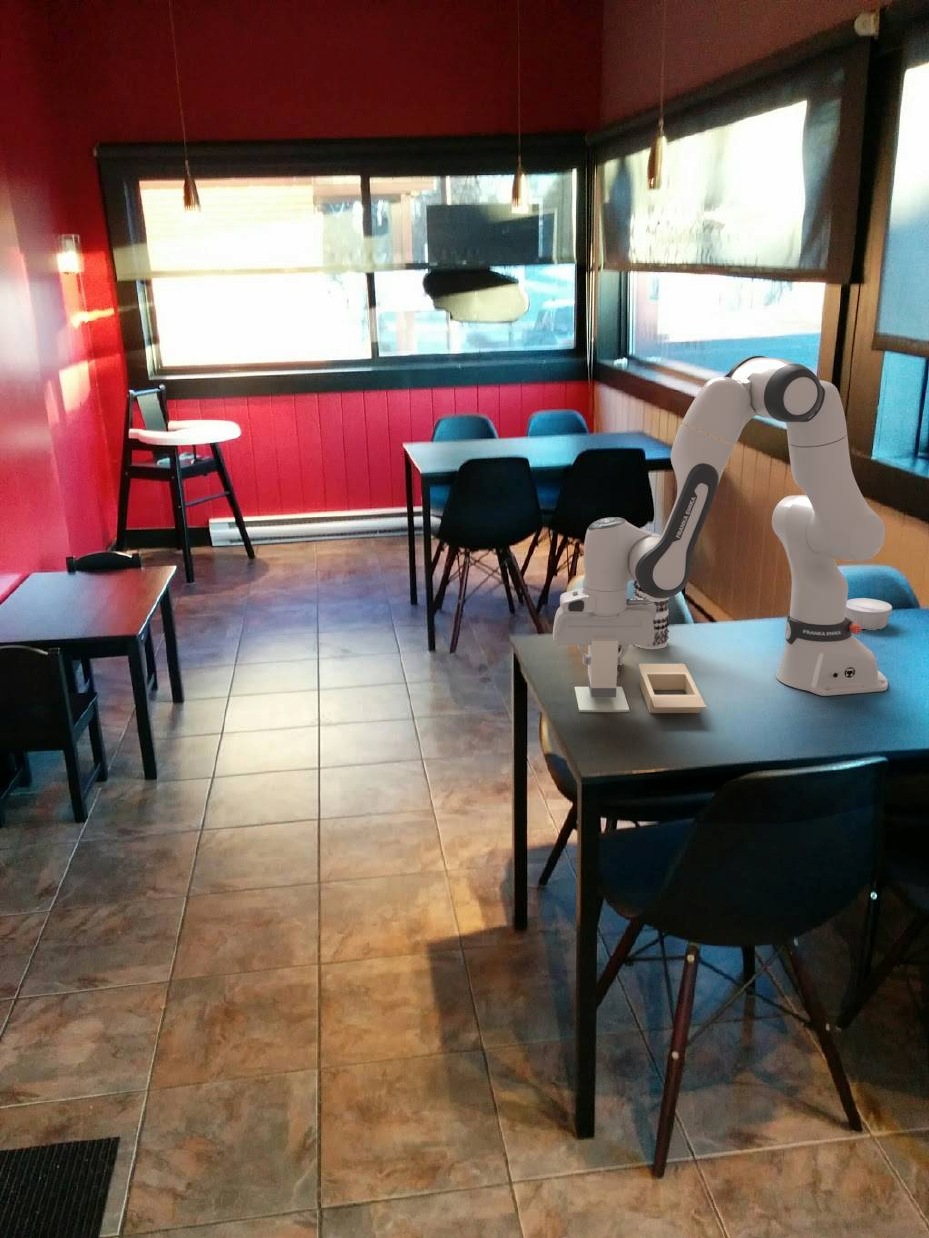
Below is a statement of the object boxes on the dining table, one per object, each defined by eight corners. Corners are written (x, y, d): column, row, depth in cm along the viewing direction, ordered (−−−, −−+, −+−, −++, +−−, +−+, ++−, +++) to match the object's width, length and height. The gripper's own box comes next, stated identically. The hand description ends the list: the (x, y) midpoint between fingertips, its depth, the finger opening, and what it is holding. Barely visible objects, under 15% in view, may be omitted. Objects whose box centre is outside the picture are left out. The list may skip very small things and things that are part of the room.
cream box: (611, 682, 209) (613, 627, 205) (616, 697, 201) (618, 641, 197) (587, 682, 209) (589, 627, 205) (591, 697, 201) (592, 641, 197)
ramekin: (846, 631, 244) (848, 610, 242) (837, 616, 254) (840, 597, 253) (894, 633, 242) (897, 612, 240) (884, 618, 253) (886, 598, 251)
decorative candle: (623, 645, 236) (627, 542, 228) (640, 634, 243) (644, 534, 235) (659, 652, 231) (664, 548, 223) (675, 641, 239) (681, 539, 231)
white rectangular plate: (621, 688, 211) (621, 686, 211) (629, 711, 200) (629, 709, 200) (574, 688, 211) (574, 686, 211) (579, 712, 200) (579, 709, 200)
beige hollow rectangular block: (683, 678, 216) (684, 663, 215) (705, 723, 194) (706, 706, 193) (637, 678, 216) (637, 663, 215) (653, 723, 194) (654, 706, 193)
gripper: (654, 594, 201) (651, 658, 206) (552, 594, 202) (551, 658, 206) (659, 603, 195) (656, 669, 200) (554, 604, 196) (553, 669, 200)
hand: (602, 663), depth 203 cm, fingers closed on cream box, 5 cm apart
